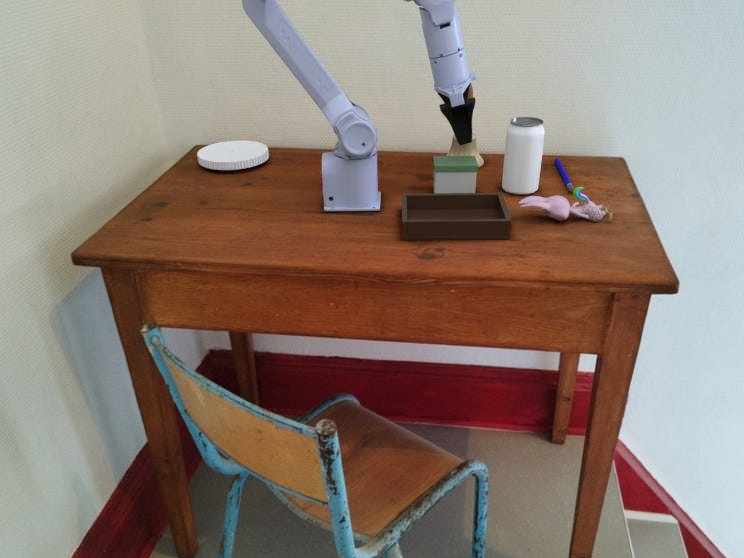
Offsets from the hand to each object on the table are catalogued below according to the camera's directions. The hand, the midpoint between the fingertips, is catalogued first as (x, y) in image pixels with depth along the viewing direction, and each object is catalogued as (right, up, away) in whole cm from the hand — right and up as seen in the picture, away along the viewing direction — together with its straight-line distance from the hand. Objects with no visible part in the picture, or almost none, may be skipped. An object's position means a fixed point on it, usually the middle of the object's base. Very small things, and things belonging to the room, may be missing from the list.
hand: (463, 135), depth 111 cm
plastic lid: (-44, +2, +22) cm, 49 cm away
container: (-1, -8, +6) cm, 11 cm away
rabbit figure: (+16, -15, -4) cm, 22 cm away
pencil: (+20, -4, +12) cm, 24 cm away
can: (+11, -7, +8) cm, 15 cm away
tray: (-2, -16, -5) cm, 17 cm away
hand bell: (+2, +1, +20) cm, 21 cm away
